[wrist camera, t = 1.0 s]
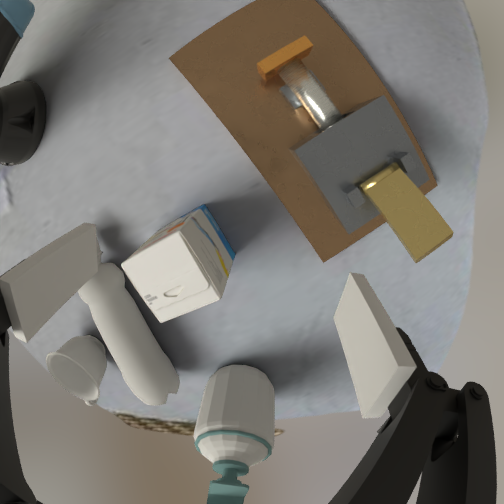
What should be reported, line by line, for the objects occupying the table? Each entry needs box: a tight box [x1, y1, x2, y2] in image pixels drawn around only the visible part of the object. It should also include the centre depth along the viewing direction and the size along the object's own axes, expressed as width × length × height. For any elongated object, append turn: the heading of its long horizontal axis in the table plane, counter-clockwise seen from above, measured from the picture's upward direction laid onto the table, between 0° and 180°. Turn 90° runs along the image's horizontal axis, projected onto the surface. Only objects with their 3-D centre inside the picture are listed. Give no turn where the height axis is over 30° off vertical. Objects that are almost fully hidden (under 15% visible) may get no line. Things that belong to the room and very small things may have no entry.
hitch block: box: [169, 0, 438, 263], centre depth 27 cm, size 34×20×11 cm, turn 36°
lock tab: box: [359, 162, 453, 263], centre depth 22 cm, size 9×4×1 cm
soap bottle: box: [194, 365, 275, 504], centre depth 35 cm, size 12×12×31 cm
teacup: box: [46, 335, 107, 406], centre depth 45 cm, size 12×15×10 cm
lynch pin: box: [257, 36, 344, 131], centre depth 27 cm, size 13×6×4 cm, turn 36°
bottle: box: [78, 236, 180, 405], centre depth 41 cm, size 9×9×30 cm
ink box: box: [121, 204, 235, 323], centre depth 34 cm, size 9×8×12 cm
